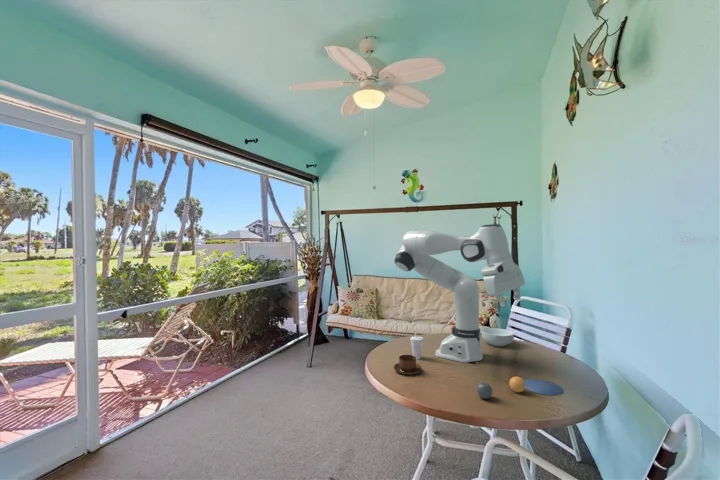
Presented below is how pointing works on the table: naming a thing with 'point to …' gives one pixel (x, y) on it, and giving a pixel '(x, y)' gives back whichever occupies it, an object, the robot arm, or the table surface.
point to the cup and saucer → (407, 365)
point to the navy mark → (543, 387)
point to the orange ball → (517, 384)
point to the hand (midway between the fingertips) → (510, 302)
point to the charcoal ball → (484, 390)
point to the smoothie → (416, 346)
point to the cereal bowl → (497, 336)
